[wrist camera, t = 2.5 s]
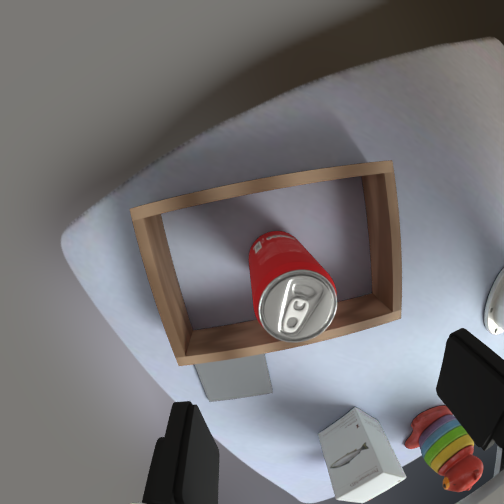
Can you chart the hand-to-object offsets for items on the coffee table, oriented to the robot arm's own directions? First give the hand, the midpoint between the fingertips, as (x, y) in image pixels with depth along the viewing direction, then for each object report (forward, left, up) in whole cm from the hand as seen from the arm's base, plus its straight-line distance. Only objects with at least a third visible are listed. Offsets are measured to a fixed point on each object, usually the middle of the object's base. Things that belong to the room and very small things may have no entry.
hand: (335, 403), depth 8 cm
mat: (+7, +13, -20) cm, 25 cm away
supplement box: (-7, +29, -20) cm, 36 cm away
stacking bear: (-24, +38, -20) cm, 49 cm away
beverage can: (0, 0, -20) cm, 20 cm away
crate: (0, 0, -20) cm, 20 cm away
